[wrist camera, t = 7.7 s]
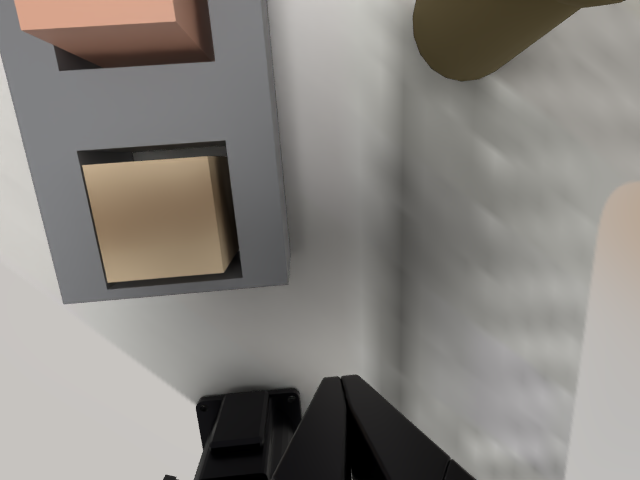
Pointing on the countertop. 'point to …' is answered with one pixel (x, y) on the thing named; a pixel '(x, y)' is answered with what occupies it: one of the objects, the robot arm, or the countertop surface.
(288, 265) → the grey socket block
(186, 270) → the oak key
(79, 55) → the terracotta key
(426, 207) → the countertop surface
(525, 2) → the olive brown cylinder
